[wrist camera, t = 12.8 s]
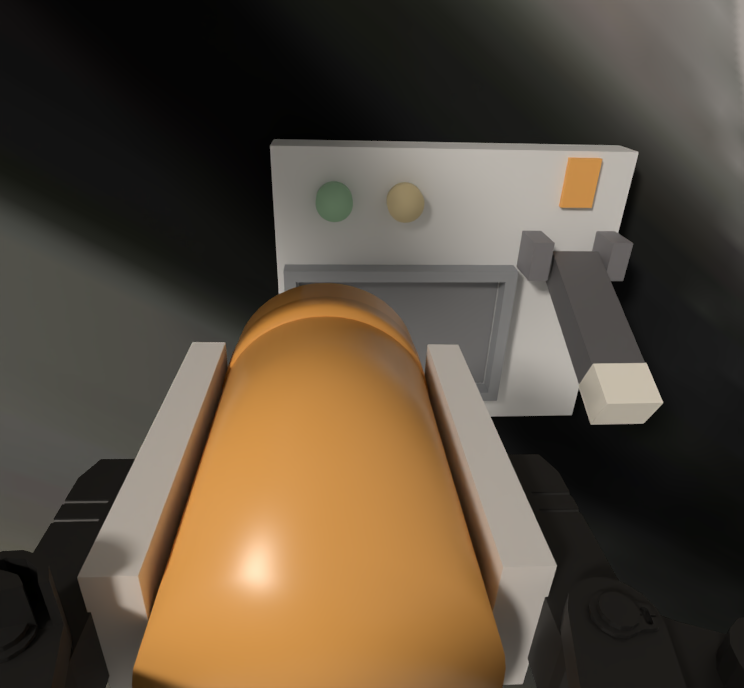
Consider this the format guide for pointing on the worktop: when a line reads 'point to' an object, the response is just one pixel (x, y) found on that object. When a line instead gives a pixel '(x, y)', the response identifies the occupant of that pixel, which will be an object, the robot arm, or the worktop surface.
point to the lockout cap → (322, 520)
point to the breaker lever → (600, 341)
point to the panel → (457, 244)
